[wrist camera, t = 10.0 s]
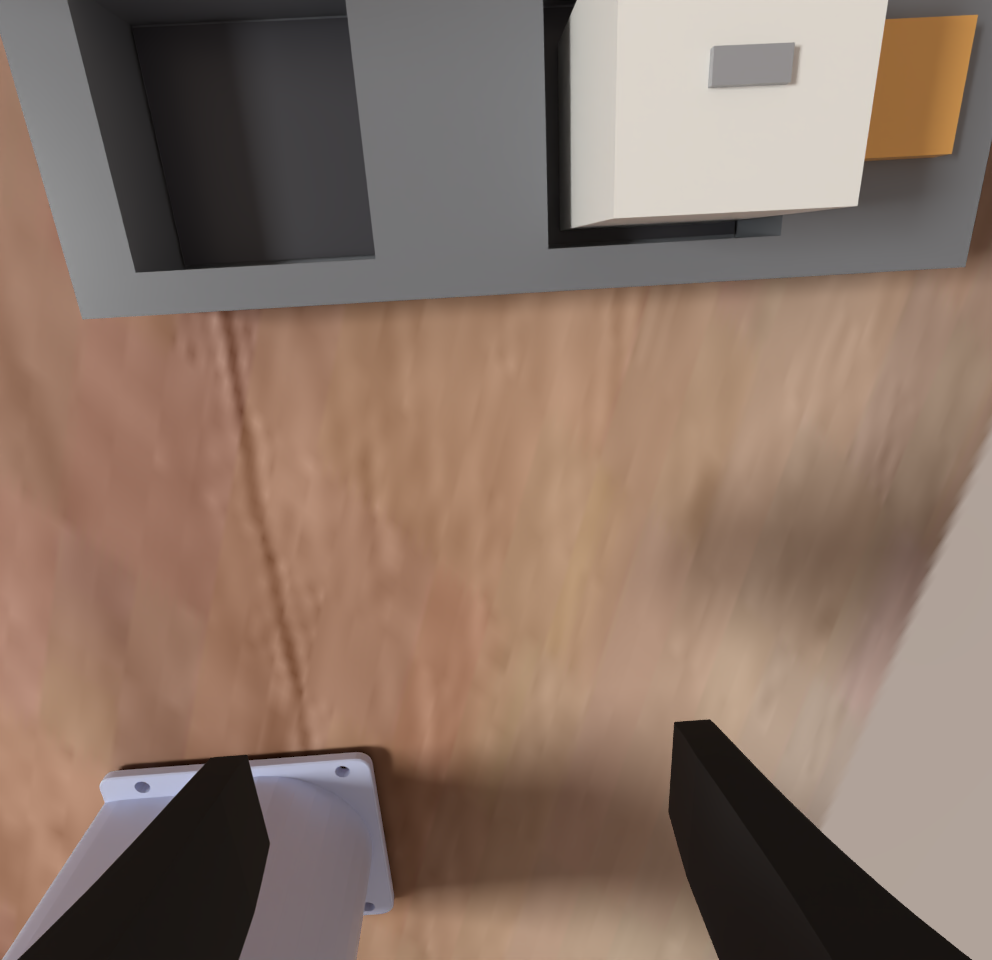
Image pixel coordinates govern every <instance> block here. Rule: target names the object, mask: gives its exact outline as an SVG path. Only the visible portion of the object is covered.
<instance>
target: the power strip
mask: <svg viewBox="0 0 992 960" xmlns="http://www.w3.org/2000/svg"><path fill="white" fill-rule="evenodd" d="M576 1H577V0H0V35H1V38H2V41H3V45H4V48H5V52H6V55H7V59H8V62H9V66H10V69H11V73H12V76H13V80H14V83H15V87H16V90H17V94H18V97H19V100H20V104H21V107H22V111H23V114H24V118H25V121H26V125H27V128H28V132H29V135H30V139H31V142H32V146H33V149H34V153H35V156H36V159H37V163H38V166H39V170H40V173H41V177H42V180H43V184H44V187H45V191H46V194H47V198H48V201H49V205H50V208H51V212H52V215H53V219H54V222H55V225H56V229H57V232H58V236H59V239H60V243H61V246H62V250H63V253H64V257H65V260H66V264H67V267H68V271H69V274H70V278H71V281H72V284H73V288H74V291H75V295H76V298H77V302H78V305H79V309H80V312H81V316H82V319H95V318H112V317H129V316H146V315H163V314H180V313H196V312H213V311H230V310H247V309H264V308H281V307H298V306H315V305H332V304H348V303H365V302H382V301H399V300H416V299H433V298H450V297H467V296H483V295H500V294H517V293H534V292H551V291H568V290H585V289H602V288H618V287H635V286H652V285H669V284H686V283H703V282H720V281H737V280H754V279H770V278H787V277H804V276H821V275H838V274H855V273H872V272H889V271H905V270H922V269H939V268H956V267H965V266H966V261H967V256H968V251H969V246H970V242H971V237H972V232H973V227H974V223H975V218H976V213H977V208H978V203H979V199H980V194H981V189H982V184H983V180H984V175H985V170H986V165H987V160H988V156H989V151H990V146H991V141H992V0H888V5H887V11H886V18H885V25H884V32H883V38H882V45H881V52H880V58H879V65H878V72H877V78H876V85H875V92H874V99H873V105H872V112H871V119H870V125H869V132H868V139H867V145H866V152H865V159H864V166H863V172H862V179H861V186H860V192H859V199H858V206H853V207H845V208H836V209H828V210H820V211H811V212H803V213H794V214H786V215H777V216H769V217H760V218H752V219H743V220H735V221H727V222H718V223H702V224H682V225H663V226H643V227H624V228H604V229H585V230H565V231H560V190H559V92H558V42H559V40H560V38H561V35H562V33H563V31H564V29H565V26H566V24H567V22H568V20H569V17H570V15H571V13H572V10H573V8H574V6H575V4H576Z"/></svg>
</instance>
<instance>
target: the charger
mask: <svg viewBox="0 0 992 960" xmlns="http://www.w3.org/2000/svg"><path fill="white" fill-rule="evenodd" d="M887 5H888V0H577V1H576V4H575V6H574V8H573V10H572V13H571V15H570V17H569V20H568V22H567V24H566V26H565V29H564V31H563V33H562V35H561V38H560V40H559V42H558V92H559V190H560V231H565V230H585V229H604V228H624V227H643V226H663V225H682V224H702V223H718V222H727V221H735V220H743V219H752V218H760V217H769V216H777V215H786V214H794V213H803V212H811V211H820V210H828V209H836V208H845V207H853V206H858V199H859V192H860V186H861V179H862V172H863V166H864V159H865V152H866V145H867V139H868V132H869V125H870V119H871V112H872V105H873V99H874V92H875V85H876V78H877V72H878V65H879V58H880V52H881V45H882V38H883V32H884V25H885V18H886V11H887Z"/></svg>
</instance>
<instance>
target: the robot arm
mask: <svg viewBox="0 0 992 960" xmlns="http://www.w3.org/2000/svg"><path fill="white" fill-rule="evenodd" d="M340 766H346V767H347V768H346V769H345V768H341V767H340ZM144 782H146V783H144ZM100 791H101V793H102V796H103V799H104V801H105V804H104V805H103V807H102V808H101V810H100V811H99V813H98V814H97V816H96V817H95V819H94V820H93V822H92V823H91V825H90V826H89V828H88V829H87V831H86V832H85V834H84V836H83V837H82V839H81V840H80V842H79V843H78V845H77V846H76V848H75V849H74V851H73V852H72V854H71V855H70V857H69V858H68V860H67V861H66V863H65V864H64V866H63V867H62V869H61V871H60V872H59V874H58V875H57V877H56V878H55V880H54V881H53V883H52V884H51V886H50V887H49V889H48V890H47V892H46V893H45V895H44V896H43V898H42V899H41V901H40V903H39V904H38V906H37V907H36V909H35V910H34V912H33V913H32V915H31V916H30V918H29V919H28V921H27V922H26V924H25V925H24V927H23V928H22V930H21V931H20V933H19V935H18V936H17V938H16V939H15V941H14V942H13V944H12V945H11V947H10V948H9V950H8V951H7V953H6V954H5V956H4V957H3V959H2V960H356V959H357V952H358V946H359V939H360V933H361V926H362V920H363V915H372V914H383V913H387V912H388V911H390V910H391V909H392V908H393V904H394V891H393V885H392V879H391V873H390V866H389V860H388V854H387V848H386V842H385V836H384V830H383V824H382V818H381V812H380V806H379V799H378V793H377V787H376V781H375V775H374V769H373V763H372V760H371V758H370V757H369V756H368V755H367V754H364V753H362V752H352V753H339V754H326V755H313V756H300V757H287V758H274V759H261V760H248V756H247V755H240V756H227V757H214V758H210V759H209V760H208V761H207V762H206V763H205V764H196V765H183V766H170V767H157V768H144V769H131V770H118V771H112V772H109V773H108V774H106V776H105V777H104V779H103V780H102V781H101V783H100ZM668 812H669V815H670V819H671V823H672V826H673V830H674V834H675V837H676V841H677V845H678V848H679V852H680V855H681V859H682V862H683V865H684V869H685V872H686V876H687V879H688V881H689V884H690V887H691V889H692V892H693V894H694V897H695V899H696V902H697V905H698V907H699V910H700V912H701V915H702V917H703V920H704V922H705V925H706V928H707V930H708V933H709V935H710V938H711V940H712V943H713V945H714V948H715V950H716V953H717V955H718V958H719V960H972V959H970V958H969V957H968V956H966V955H965V954H964V953H962V952H961V951H960V950H959V949H958V948H956V947H955V946H954V945H952V944H951V943H950V942H949V941H947V940H946V939H945V938H944V937H942V936H941V935H940V934H939V933H937V932H936V931H935V930H934V929H932V928H931V927H930V926H928V925H927V924H926V923H925V922H924V921H922V920H921V919H920V918H918V917H917V916H916V915H915V914H914V913H912V912H911V911H910V910H909V909H908V908H907V907H905V906H904V905H903V904H902V903H900V902H899V901H898V900H897V899H896V898H895V897H894V896H892V895H891V894H890V893H889V892H888V891H887V890H885V889H884V888H883V887H882V886H881V885H879V884H878V883H877V882H876V881H875V880H874V879H873V878H872V877H871V876H869V875H868V874H867V873H866V872H865V871H864V870H863V869H862V868H860V867H859V866H858V865H857V864H856V863H855V862H853V860H851V859H850V858H849V857H848V856H847V855H846V854H845V853H844V852H843V851H841V850H840V849H839V848H838V847H837V846H836V845H835V844H834V843H833V842H832V841H831V840H830V839H828V838H827V837H826V836H825V835H824V834H823V833H822V832H821V831H820V830H819V829H818V828H817V827H816V826H815V825H814V824H813V823H812V822H811V821H810V820H809V819H808V818H807V817H806V816H805V815H804V814H802V813H801V812H800V811H799V810H798V809H797V808H796V807H795V806H794V805H793V804H792V803H791V802H790V801H789V800H788V799H787V798H786V797H785V796H784V795H783V794H782V793H781V792H780V791H779V790H778V789H777V788H776V787H775V786H774V785H773V784H772V783H771V782H770V781H769V780H768V779H767V778H766V777H765V776H764V775H763V774H762V773H761V772H760V771H759V770H758V769H757V768H756V767H755V766H754V764H753V763H752V762H751V761H750V760H749V759H748V758H747V757H746V756H745V755H744V754H743V753H742V752H741V751H740V750H739V749H738V748H737V747H736V746H735V745H734V743H733V742H732V741H731V740H730V739H729V738H728V737H727V736H726V735H725V734H724V733H723V732H722V731H721V730H720V729H719V728H718V727H717V726H716V725H715V724H714V723H713V722H712V721H711V720H710V719H709V720H696V721H683V722H674V733H673V749H672V765H671V780H670V796H669V811H668Z"/></svg>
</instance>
